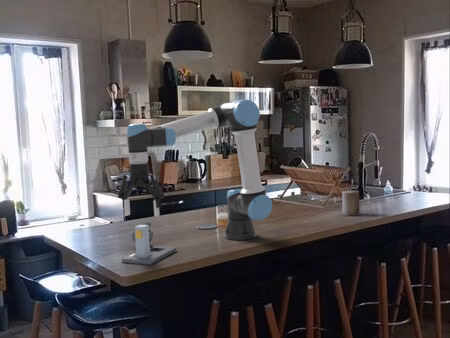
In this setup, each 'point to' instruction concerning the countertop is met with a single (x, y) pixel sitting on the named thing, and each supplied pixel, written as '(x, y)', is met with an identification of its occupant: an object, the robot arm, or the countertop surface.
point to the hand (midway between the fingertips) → (142, 215)
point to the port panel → (155, 255)
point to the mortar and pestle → (149, 232)
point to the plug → (142, 241)
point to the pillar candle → (350, 202)
